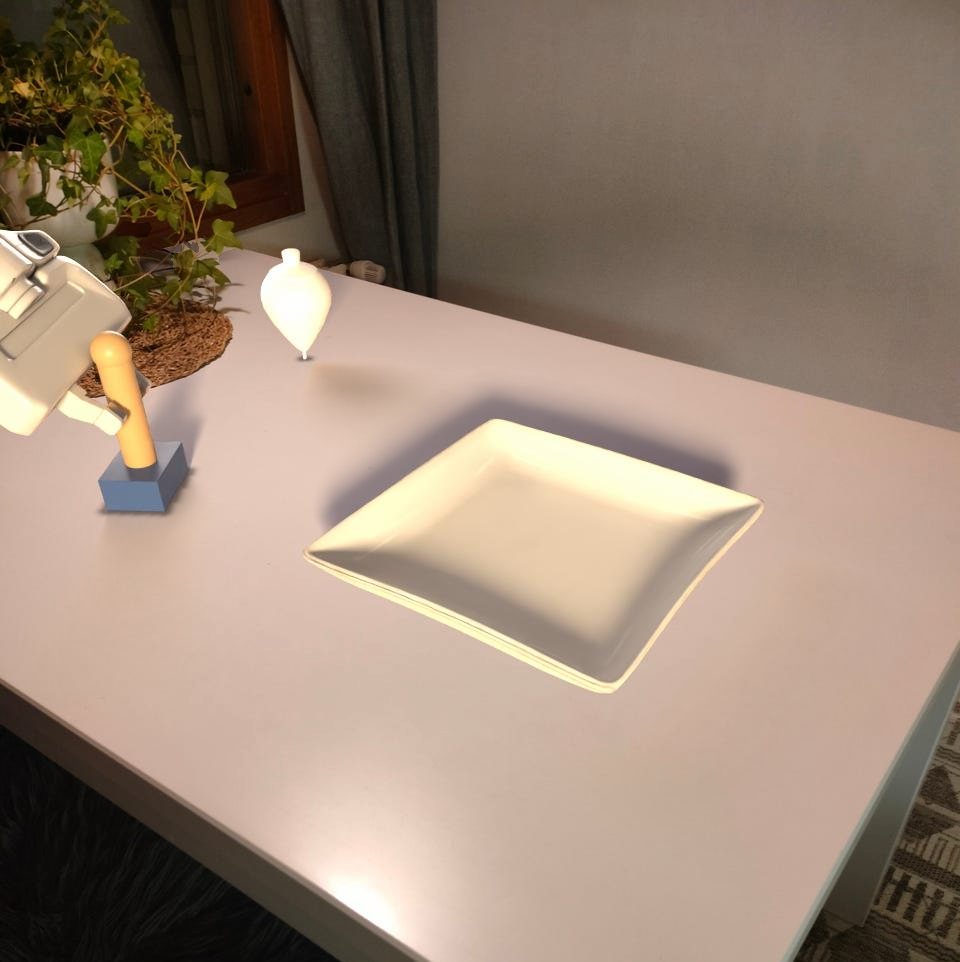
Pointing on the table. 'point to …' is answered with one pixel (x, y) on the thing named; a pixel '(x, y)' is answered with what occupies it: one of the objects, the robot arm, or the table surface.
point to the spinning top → (296, 299)
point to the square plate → (541, 547)
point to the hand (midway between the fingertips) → (134, 409)
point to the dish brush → (134, 437)
